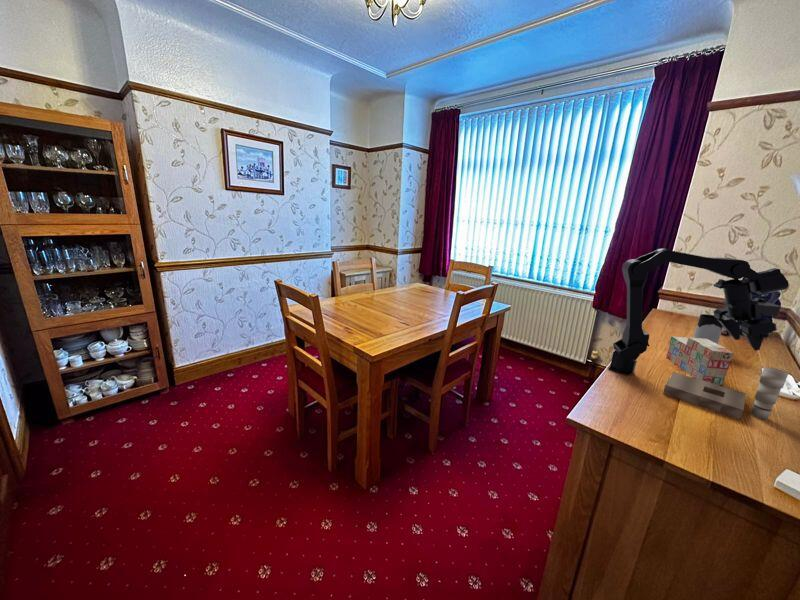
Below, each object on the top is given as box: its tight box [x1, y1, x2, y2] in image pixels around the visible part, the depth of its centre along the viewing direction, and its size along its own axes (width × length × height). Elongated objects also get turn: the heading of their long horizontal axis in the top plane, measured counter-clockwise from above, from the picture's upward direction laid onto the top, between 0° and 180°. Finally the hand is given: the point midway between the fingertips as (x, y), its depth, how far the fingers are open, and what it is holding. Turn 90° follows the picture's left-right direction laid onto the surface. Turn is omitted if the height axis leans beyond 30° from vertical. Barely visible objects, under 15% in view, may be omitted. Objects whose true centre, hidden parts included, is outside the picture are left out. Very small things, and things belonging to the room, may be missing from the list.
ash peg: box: [750, 366, 789, 421], centre depth 89 cm, size 4×4×14 cm
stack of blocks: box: [666, 336, 734, 386], centre depth 117 cm, size 21×6×12 cm, turn 168°
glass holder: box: [692, 313, 724, 345], centre depth 139 cm, size 9×14×15 cm, turn 148°
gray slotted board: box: [662, 371, 747, 420], centre depth 99 cm, size 17×14×3 cm
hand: (746, 344), depth 102 cm, fingers open, 9 cm apart
